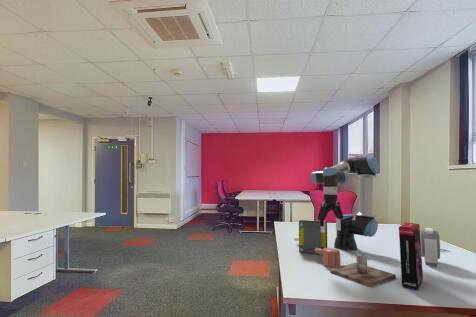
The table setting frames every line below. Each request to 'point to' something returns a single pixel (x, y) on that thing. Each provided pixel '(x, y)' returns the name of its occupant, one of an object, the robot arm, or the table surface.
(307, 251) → the electrical component
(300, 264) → the table surface
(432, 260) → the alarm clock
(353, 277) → the base
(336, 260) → the cap
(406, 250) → the graphics card box
